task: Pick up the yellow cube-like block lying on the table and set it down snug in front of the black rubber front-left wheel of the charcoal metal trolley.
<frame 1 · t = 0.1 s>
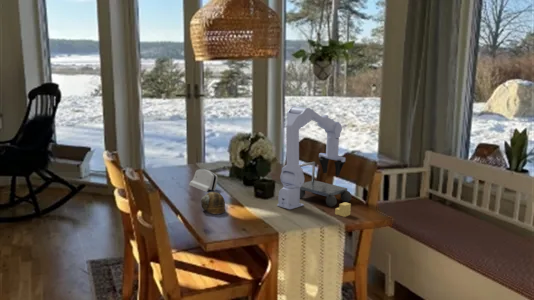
hand: (331, 174, 240), 10 cm above the table, tool pointing down, fingers open, 7 cm apart
trolley: (320, 198, 234), on the table
seashell: (213, 211, 213), on the table
yellow cube-like block: (342, 214, 212), on the table
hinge: (204, 187, 250), on the table
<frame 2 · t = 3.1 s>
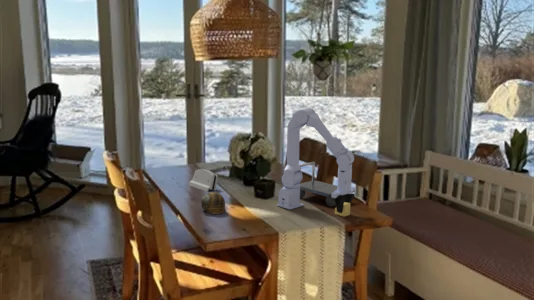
hand: (342, 211, 211), 1 cm above the table, tool pointing down, fingers closed on yellow cube-like block, 4 cm apart
yellow cube-like block: (342, 214, 212), on the table, touching gripper
everything else where it was.
when the fingers open (3 cm above the table, at t = 6.0 s): yellow cube-like block drops 1 cm, on the table.
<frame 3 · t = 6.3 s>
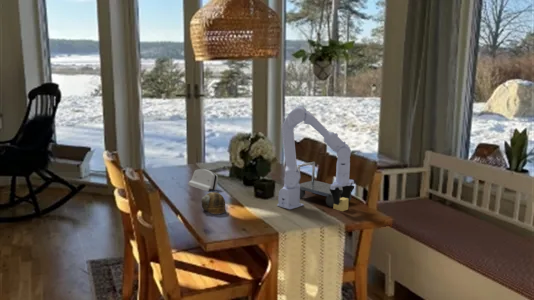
hand: (341, 202, 218), 3 cm above the table, tool pointing down, fingers open, 6 cm apart
yellow cube-like block: (340, 209, 219), on the table
everything else where it was.
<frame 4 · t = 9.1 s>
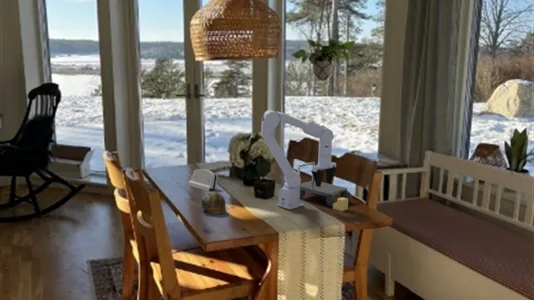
hand: (323, 184, 222), 9 cm above the table, tool pointing down, fingers open, 7 cm apart
at the end: yellow cube-like block 1.1 cm from the target spot, on the table; yellow cube-like block tilted 0°; the gripper is holding nothing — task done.
